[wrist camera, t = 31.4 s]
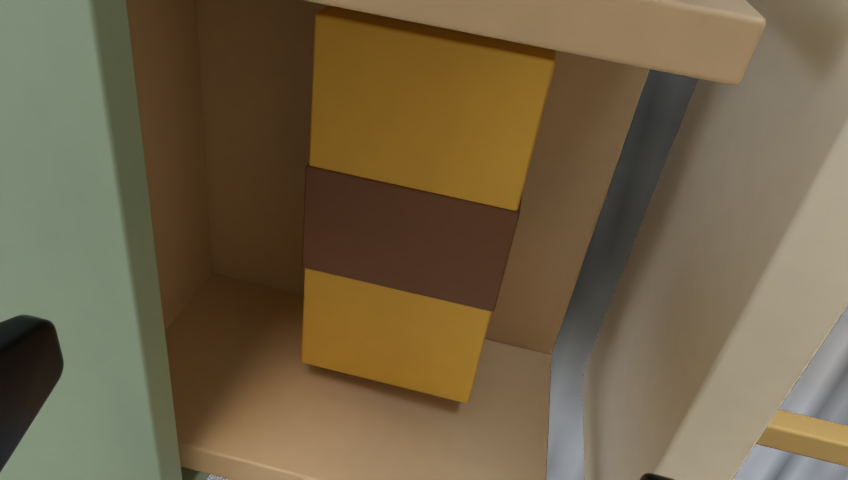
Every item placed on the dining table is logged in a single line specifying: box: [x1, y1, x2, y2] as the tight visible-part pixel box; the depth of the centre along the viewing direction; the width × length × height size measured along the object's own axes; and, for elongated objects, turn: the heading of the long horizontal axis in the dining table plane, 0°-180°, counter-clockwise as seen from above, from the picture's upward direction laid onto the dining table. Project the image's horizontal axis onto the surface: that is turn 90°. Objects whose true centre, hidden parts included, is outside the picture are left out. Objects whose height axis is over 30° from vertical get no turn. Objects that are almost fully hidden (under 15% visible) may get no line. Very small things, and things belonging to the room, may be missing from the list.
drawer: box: [126, 0, 848, 480], centre depth 13 cm, size 18×12×7 cm, turn 82°
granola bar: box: [301, 5, 556, 403], centre depth 14 cm, size 4×8×3 cm, turn 172°
